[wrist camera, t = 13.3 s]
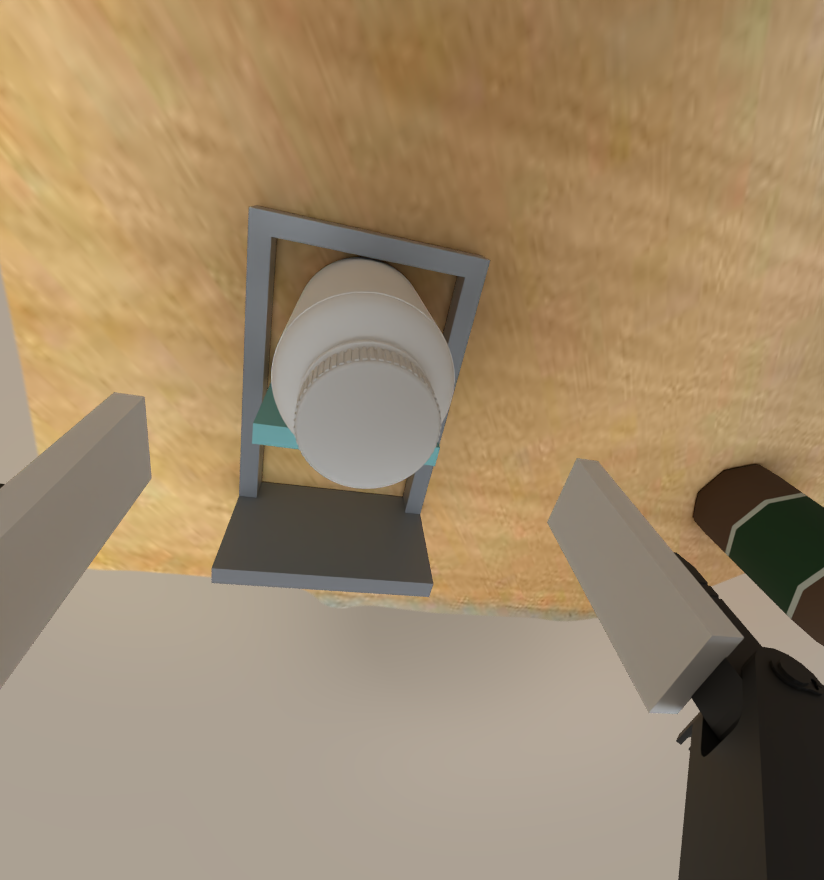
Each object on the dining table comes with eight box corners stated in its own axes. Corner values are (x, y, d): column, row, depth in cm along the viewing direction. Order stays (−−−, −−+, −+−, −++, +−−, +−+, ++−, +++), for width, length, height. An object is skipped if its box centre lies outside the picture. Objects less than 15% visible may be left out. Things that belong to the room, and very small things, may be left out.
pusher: (421, 389, 31) (439, 447, 24) (418, 405, 32) (434, 466, 25) (277, 367, 29) (253, 423, 22) (276, 383, 30) (252, 443, 23)
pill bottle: (435, 359, 31) (493, 486, 18) (324, 391, 31) (300, 540, 18) (405, 236, 27) (450, 286, 14) (277, 276, 27) (203, 360, 14)
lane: (481, 255, 28) (530, 283, 20) (414, 510, 37) (429, 596, 29) (256, 205, 25) (210, 214, 17) (244, 492, 34) (211, 582, 27)
